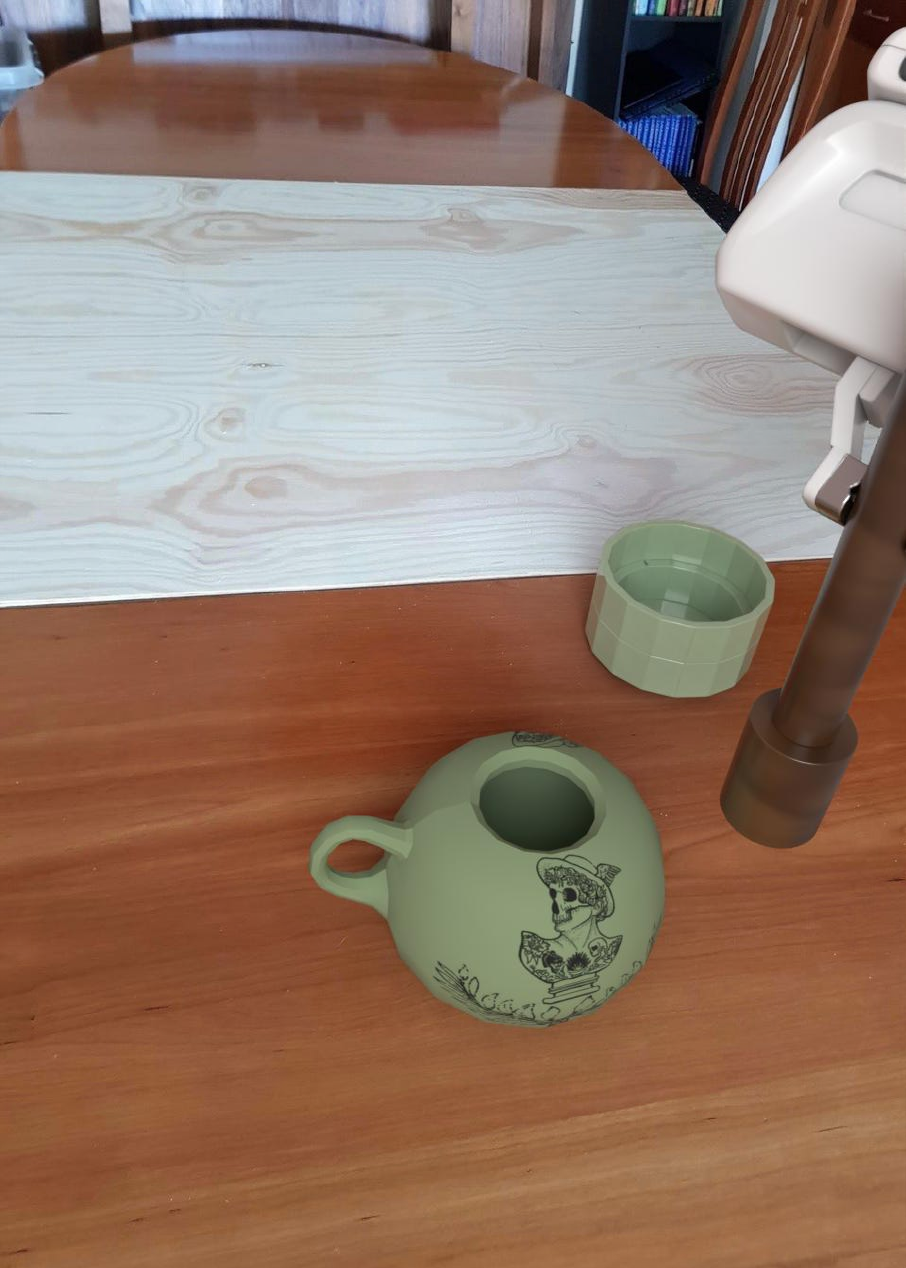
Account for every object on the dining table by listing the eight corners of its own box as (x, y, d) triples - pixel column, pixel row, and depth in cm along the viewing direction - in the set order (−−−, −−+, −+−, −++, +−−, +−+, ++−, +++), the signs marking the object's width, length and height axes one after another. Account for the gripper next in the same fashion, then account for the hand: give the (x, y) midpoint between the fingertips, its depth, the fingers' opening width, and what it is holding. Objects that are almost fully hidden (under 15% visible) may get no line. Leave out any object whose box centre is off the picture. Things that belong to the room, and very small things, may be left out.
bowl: (718, 594, 70) (742, 519, 66) (770, 702, 62) (800, 625, 58) (570, 596, 68) (585, 520, 64) (604, 707, 61) (623, 628, 57)
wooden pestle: (799, 770, 45) (1051, 185, 29) (833, 847, 42) (1136, 242, 26) (707, 773, 44) (912, 179, 28) (736, 851, 41) (982, 237, 25)
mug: (614, 803, 55) (647, 684, 50) (686, 1036, 46) (736, 921, 40) (306, 819, 53) (303, 696, 47) (313, 1068, 44) (310, 951, 38)
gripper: (1521, 347, 29) (1202, 747, 31) (876, 138, 40) (659, 441, 41) (1625, 216, 24) (1233, 707, 25) (849, 16, 35) (601, 367, 36)
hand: (872, 540), depth 33 cm, fingers closed on wooden pestle, 2 cm apart
